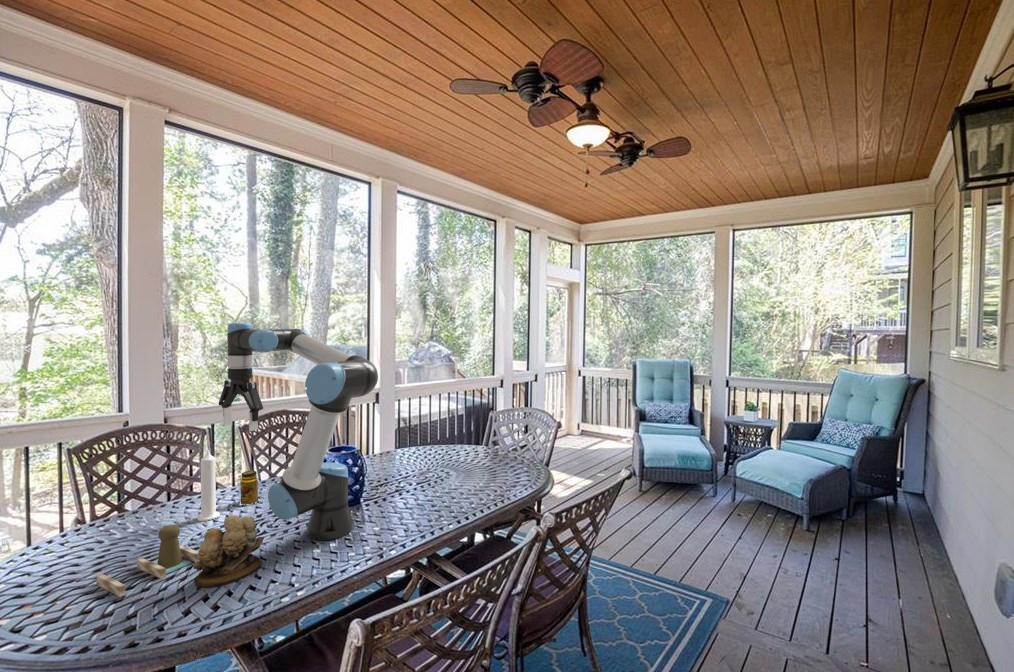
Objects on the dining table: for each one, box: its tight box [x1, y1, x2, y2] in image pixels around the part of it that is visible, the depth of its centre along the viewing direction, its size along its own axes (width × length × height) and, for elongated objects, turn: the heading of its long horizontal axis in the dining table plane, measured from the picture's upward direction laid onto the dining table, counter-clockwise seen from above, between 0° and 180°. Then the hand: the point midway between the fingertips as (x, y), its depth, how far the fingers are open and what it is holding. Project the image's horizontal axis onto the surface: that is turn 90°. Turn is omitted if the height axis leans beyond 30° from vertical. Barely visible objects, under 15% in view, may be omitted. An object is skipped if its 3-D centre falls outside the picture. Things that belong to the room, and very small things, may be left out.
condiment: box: [239, 470, 262, 505], centre depth 188 cm, size 7×8×12 cm
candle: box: [196, 449, 221, 522], centre depth 172 cm, size 7×7×25 cm
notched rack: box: [95, 544, 200, 598], centre depth 139 cm, size 12×30×2 cm, turn 154°
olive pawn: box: [157, 524, 183, 569], centre depth 139 cm, size 6×6×11 cm
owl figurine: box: [192, 514, 264, 589], centre depth 135 cm, size 18×12×17 cm, turn 142°
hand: (240, 428), depth 164 cm, fingers open, 13 cm apart
